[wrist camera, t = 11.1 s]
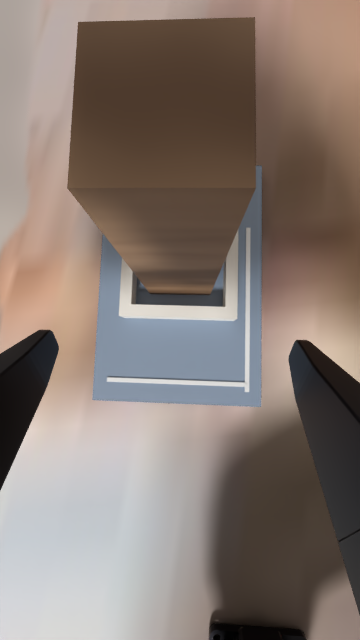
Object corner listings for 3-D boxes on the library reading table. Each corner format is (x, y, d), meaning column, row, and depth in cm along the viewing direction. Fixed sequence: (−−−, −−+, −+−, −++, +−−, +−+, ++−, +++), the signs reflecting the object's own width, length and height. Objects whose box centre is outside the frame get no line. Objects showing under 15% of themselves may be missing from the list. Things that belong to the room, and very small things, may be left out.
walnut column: (210, 294, 19) (255, 187, 6) (150, 294, 19) (67, 187, 6) (210, 237, 19) (255, 17, 6) (152, 236, 19) (78, 22, 6)
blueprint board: (257, 403, 19) (267, 412, 16) (97, 397, 19) (83, 404, 17) (258, 174, 21) (267, 150, 18) (110, 173, 21) (100, 150, 19)
